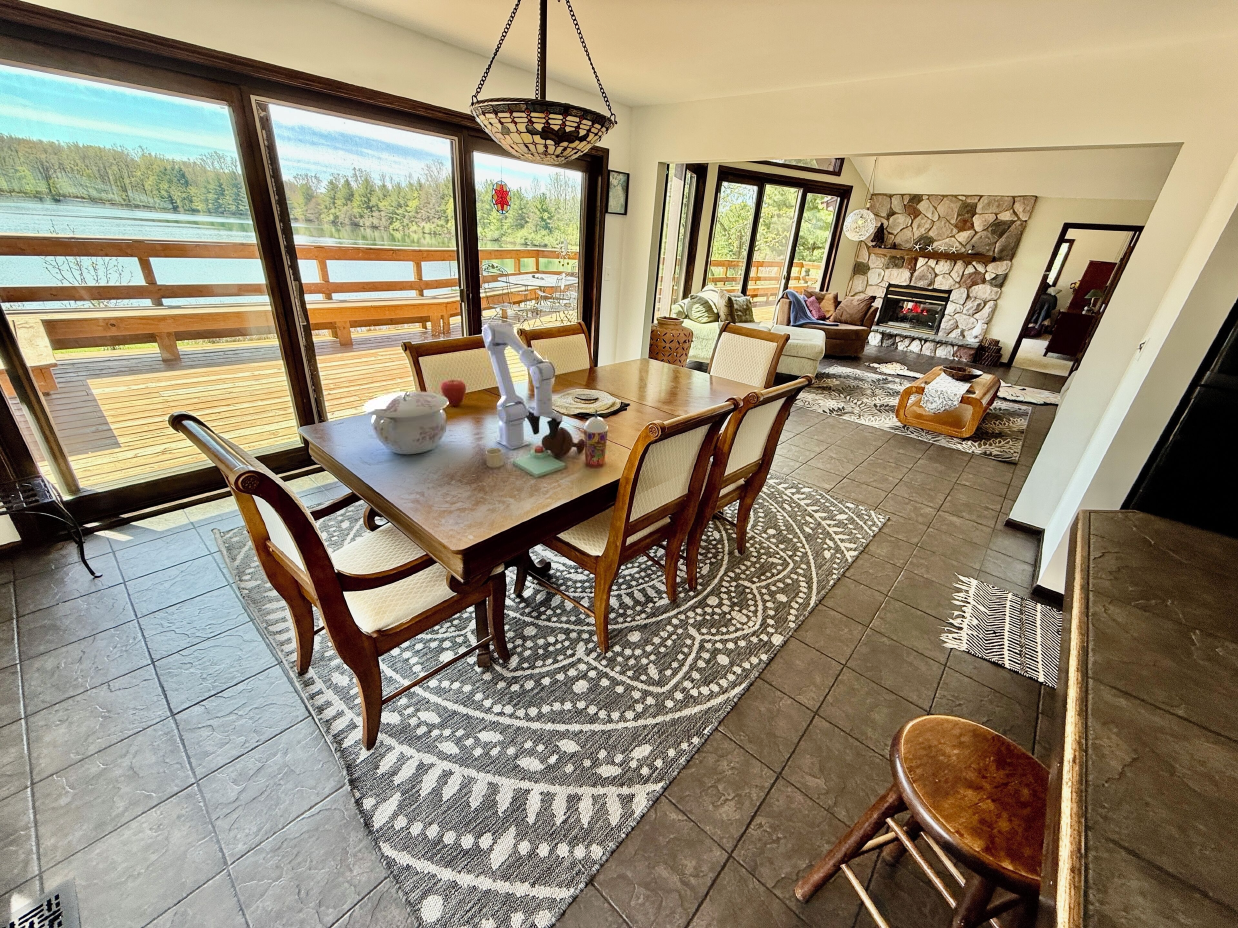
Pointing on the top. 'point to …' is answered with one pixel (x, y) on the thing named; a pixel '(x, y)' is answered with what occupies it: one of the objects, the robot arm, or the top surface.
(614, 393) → the top surface
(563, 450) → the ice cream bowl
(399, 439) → the chamber pot
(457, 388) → the apple
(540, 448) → the tare button
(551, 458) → the scale
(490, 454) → the beige cup
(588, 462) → the smoothie
